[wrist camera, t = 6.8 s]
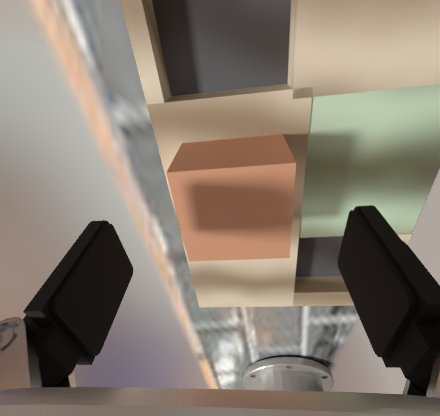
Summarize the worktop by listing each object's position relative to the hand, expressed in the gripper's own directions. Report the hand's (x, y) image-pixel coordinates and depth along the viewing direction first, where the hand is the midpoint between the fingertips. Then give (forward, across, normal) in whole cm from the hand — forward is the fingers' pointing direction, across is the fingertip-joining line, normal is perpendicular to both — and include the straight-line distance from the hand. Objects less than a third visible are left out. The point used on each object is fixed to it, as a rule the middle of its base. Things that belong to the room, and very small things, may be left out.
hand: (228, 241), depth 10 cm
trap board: (+9, -5, +2) cm, 10 cm away
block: (+7, 0, +1) cm, 7 cm away
